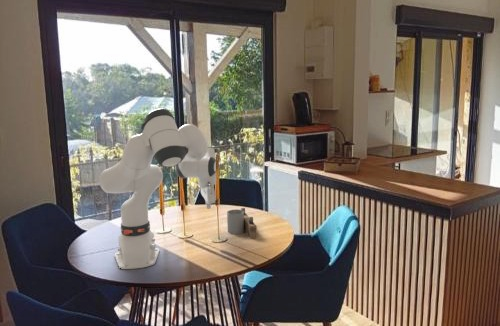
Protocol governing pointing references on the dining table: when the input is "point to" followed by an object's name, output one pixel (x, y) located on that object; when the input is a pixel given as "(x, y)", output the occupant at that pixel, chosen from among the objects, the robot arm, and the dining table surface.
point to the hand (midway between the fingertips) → (208, 208)
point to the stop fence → (249, 225)
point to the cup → (235, 221)
